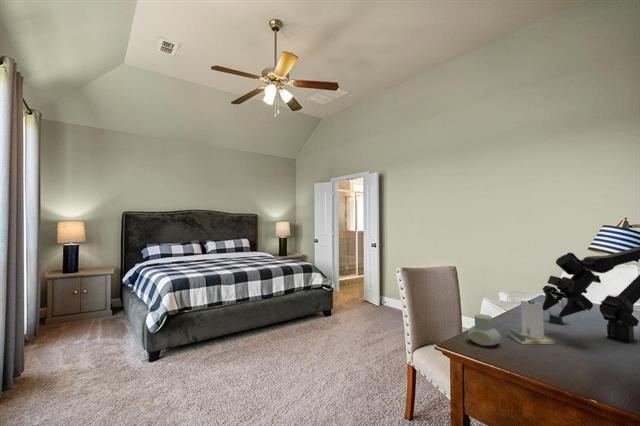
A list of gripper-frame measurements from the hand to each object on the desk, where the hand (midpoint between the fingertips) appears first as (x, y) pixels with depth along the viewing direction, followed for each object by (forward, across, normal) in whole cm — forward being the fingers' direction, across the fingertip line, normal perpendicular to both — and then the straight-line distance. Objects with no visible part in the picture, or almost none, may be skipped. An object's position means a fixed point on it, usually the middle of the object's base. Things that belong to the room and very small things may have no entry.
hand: (551, 312), depth 118 cm
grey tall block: (+12, 0, +1) cm, 12 cm away
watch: (-4, -21, +19) cm, 29 cm away
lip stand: (+13, 0, +1) cm, 13 cm away
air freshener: (+26, +4, -12) cm, 29 cm away
